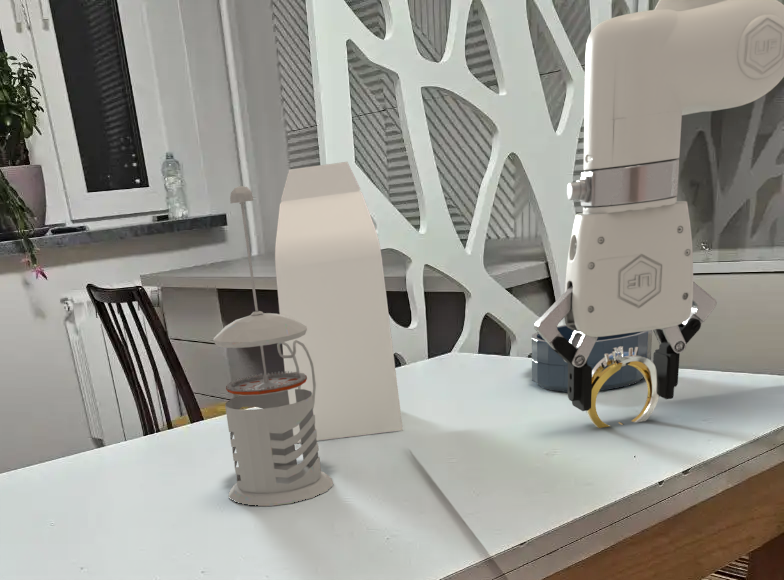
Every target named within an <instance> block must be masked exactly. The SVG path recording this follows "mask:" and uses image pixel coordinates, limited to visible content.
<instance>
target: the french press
mask: <svg viewBox="0 0 784 580" xmlns="http://www.w3.org/2000/svg"><path fill="white" fill-rule="evenodd" d="M229 200H230V201H229V202H230V204H238V203H239V205H240V208H241V216H242V222H243V230H244V237H245V245H246V252H247V259H248V267H249V274H250V282H251V289H252V296H253V297H252V298H253V304H254V310H255V311H252V313H251V314H250V315H247V316H244V317H241V318H237V319H235V320H233V321H231V322H230V323H228V324H227V325H225V326H224V327H223V328H222V329H221V330H220V331H219V332H218V333H217V334H215V336H214V337H213V339H212V341H213V343H214V344H215V345H216V347H219V348H225V349H243V348H254V347H260V354H261V363H262V369H263V373H259V374H258V373H257V374H253V375H249V376H244V377H241V378H240V377H238V379H237V378H236V379H235V380H233V381H230V382H228V383H227V385H226V387H225V390H226V391H227V392H228V393H229V394H231V395H232V394H233V395H236V396H237V397H236V396H235V397H233V398H231V399H229V400H228V401H226V402H225V406H224V407H225V414H226V420H227V421H226V422H227V428H228V432H229V437H230V440H229V441H230V446H231V448H232V449H231V450H232V457H233V458H232V459H233V460H232V461H233V462H234V463H233V464H234V471H235V475H236V483H234V484H233V485H232V487H231V489H230V490H229V491H230V492H229V491H228V498H229V497H230V498H231V499H233V500H235V501H236V502H239V503H242V504H241V505H244V504H248V505H247V506H249V505H255V506H254V507H272V506H280V505H289V504H295V503H298V501H299V502H302V500H303V501H306V500H309V499H313V498H316V497H318V496H320V495H322V494H324V493H326V492H328V491H329V490H330V489H331V488H332V487H333V486H334V481H333V478H332V477H331V476H330V475H328V474H327V473H326V472H324V471H323V470H322V468H321V459H320V457H321V456H319V451H320V449H319V443H318V441H316V438H317V431H316V429H315V415H313V408H314V404H315V391H316V382H315V374H314V366H313V363H312V360H311V357H310V355H309V352H308V350H307V348H306V347H305V345H304V344H303V343H301V342H299V341H297V340H295V341H294V342H293V351H292V350H291V348H290V346H289V345H288V344H287V343H285V342H286V341H289V340H293V339H296V338H299V337H301V336H303V335H305V333H306V331H307V327H306V326H305V325H303V324H301V323H300V322H298V321H296V320H294V319H293V318H291V317H287V316H283V315H280V313H274V312H273V313H271V312H266V313H265V312H263V311H261V310H259V308H258V300H257V294H256V293H257V292H256V286H255V280H254V279H255V278H254V270H253V265H252V257H251V249H250V242H249V235H248V228H247V227H248V226H247V219H246V212H245V202H252V201H254V196H253V191H252V190H251V189H250V188H249V187H247V186H244V185H243V186H242V185H238V186H236V187H234V189H233V190H232V191H231V192H230V196H229ZM296 343H298V344H299V345H301V346H302V347H303V348H304V350H305V352H306V354H307V356H308V359H309V361H310V365H311V369H312V380H313V395H312V392H311V391H308V390H305V389H301V385H302V384H303V383H305V382H306V380H307V376H306V375H305V374H304V373H300V372H299V367H298V363H297V360H296V357H295V354H296V346H295V345H296ZM275 344H276V348H277V353H278V355H279V357H281V358H282V359H284V358H292V357H293V360H294V363H295V366H296V372H292V371H291V372H290V373H289V371H288V373H287V372H286V371H285V370H284V371H281V372H280V371H278V372H276V371H274V373H273V371H272V372H271V373H269V372H267V365H266V360H265V351H264V346H270V345H275ZM282 344H283V345H285V346H286V347H287V348H288V350H289V351H290V353H291V355H283V353H282V350H281V345H282ZM297 387H298V389H295V395H296V403H294V404H289V396H288V390H290V389H293V388H297ZM252 407H254V408H256V409H242V408H252ZM298 425H299V428H300V431H299V433H298V434H296V435H294V436H293V428H294V427H296V426H298ZM300 439H301V443H300V444H301V446H300V447H299V448H297V449H296V446H295V445H296V444H298V443H297V442H298V441H299V440H300ZM301 456H302V459H303V460H302V461H301V462H300V463H298V461H297V459H298V458H300V457H301ZM237 465H238V466H237ZM328 489H329V490H328ZM319 494H320V495H319ZM317 495H318V496H317ZM315 496H316V497H315ZM231 499H230V500H231ZM305 499H306V500H305ZM294 502H295V503H294ZM256 505H258V506H256Z"/></svg>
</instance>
